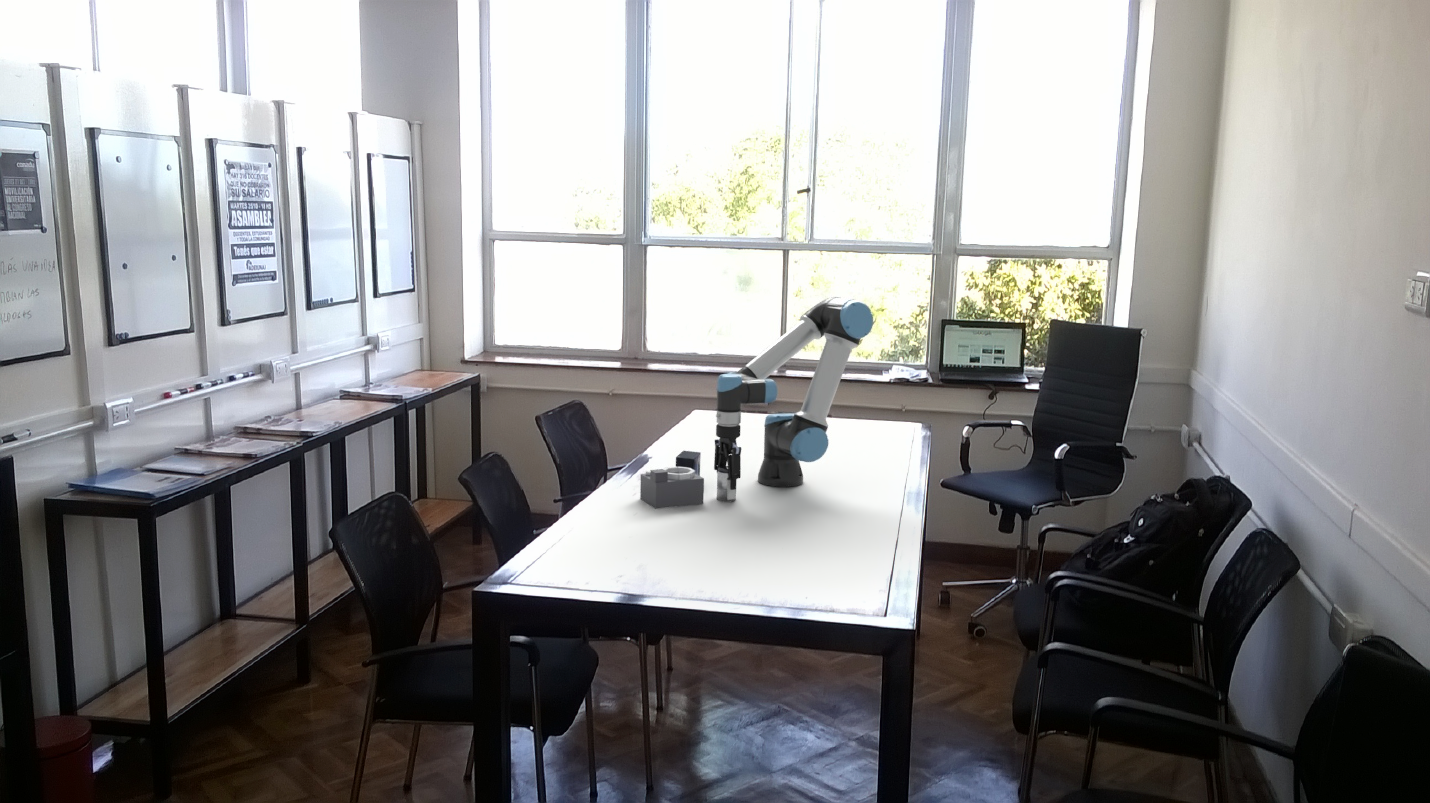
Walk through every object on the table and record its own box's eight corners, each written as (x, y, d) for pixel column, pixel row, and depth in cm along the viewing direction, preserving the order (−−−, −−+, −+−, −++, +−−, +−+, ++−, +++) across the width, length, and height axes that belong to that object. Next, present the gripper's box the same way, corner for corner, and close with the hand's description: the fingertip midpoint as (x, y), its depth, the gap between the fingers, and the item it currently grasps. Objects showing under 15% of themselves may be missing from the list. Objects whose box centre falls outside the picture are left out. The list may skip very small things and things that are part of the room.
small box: (693, 490, 354) (694, 458, 352) (674, 488, 355) (674, 457, 353) (700, 482, 364) (701, 451, 362) (681, 480, 365) (682, 450, 364)
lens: (730, 495, 348) (731, 465, 346) (739, 500, 343) (740, 469, 341) (713, 497, 345) (714, 466, 343) (722, 502, 340) (723, 471, 338)
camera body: (686, 494, 349) (687, 460, 347) (703, 503, 338) (704, 468, 336) (640, 498, 342) (640, 464, 340) (655, 508, 331) (656, 473, 329)
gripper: (704, 419, 346) (702, 490, 350) (731, 430, 330) (729, 505, 334) (725, 417, 350) (723, 488, 354) (753, 429, 333) (751, 502, 337)
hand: (726, 496), depth 344 cm, fingers closed on lens, 6 cm apart
